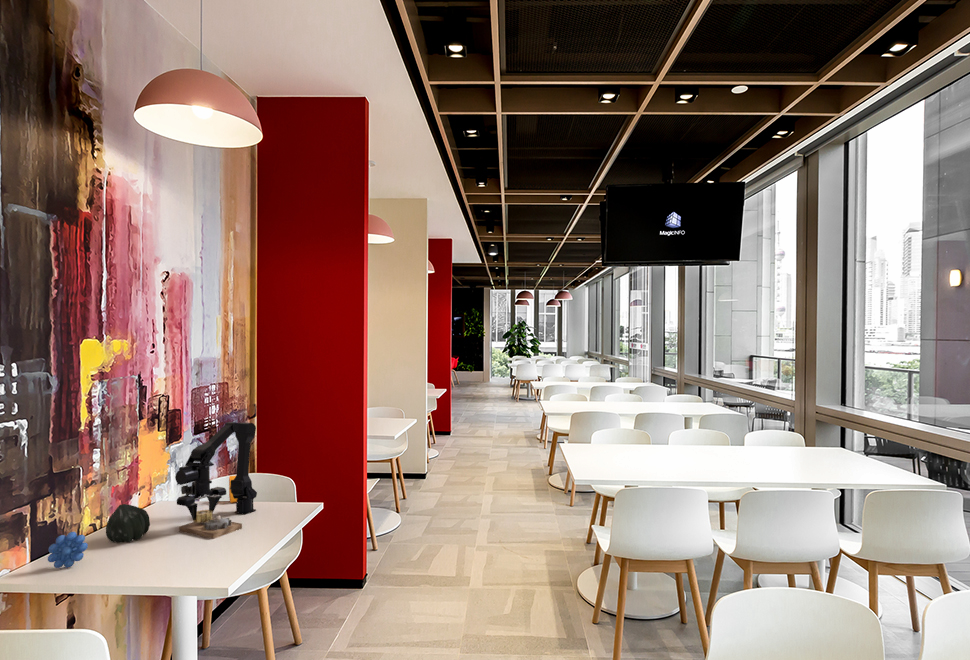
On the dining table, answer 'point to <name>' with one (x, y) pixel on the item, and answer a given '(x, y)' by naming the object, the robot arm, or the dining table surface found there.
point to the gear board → (209, 533)
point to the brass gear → (203, 516)
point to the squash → (127, 524)
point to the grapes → (67, 550)
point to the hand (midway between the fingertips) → (202, 517)
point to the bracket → (230, 490)
